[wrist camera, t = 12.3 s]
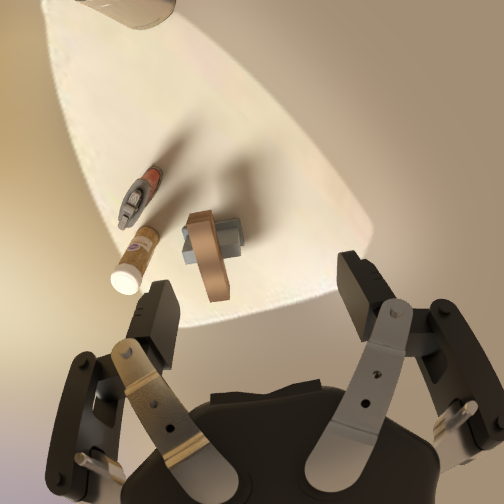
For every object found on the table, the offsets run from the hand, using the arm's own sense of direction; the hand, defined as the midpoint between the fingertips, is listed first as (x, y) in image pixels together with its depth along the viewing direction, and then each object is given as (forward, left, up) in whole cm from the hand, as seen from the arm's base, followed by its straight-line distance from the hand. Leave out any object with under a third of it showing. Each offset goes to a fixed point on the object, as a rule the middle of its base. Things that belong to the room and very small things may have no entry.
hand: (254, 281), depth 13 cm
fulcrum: (+14, -7, -32) cm, 36 cm away
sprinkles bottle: (+12, -19, -32) cm, 39 cm away
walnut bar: (+14, -7, -26) cm, 30 cm away
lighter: (+3, -16, -32) cm, 36 cm away
